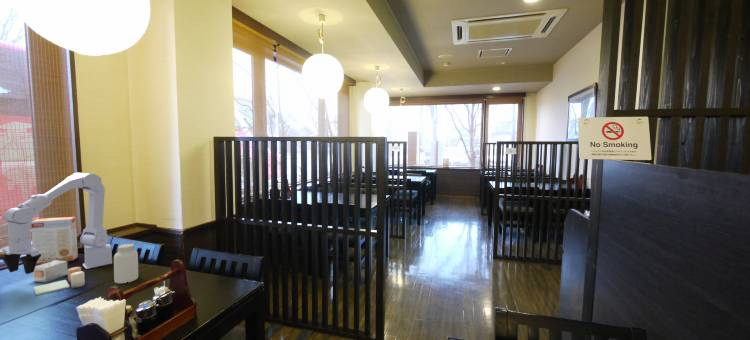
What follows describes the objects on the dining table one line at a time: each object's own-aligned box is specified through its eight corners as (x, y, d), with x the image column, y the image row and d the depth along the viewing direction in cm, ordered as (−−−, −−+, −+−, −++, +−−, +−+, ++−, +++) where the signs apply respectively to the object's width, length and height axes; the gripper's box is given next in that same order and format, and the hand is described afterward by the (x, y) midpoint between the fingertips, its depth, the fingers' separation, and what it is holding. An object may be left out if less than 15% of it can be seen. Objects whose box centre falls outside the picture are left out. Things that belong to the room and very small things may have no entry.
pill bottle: (142, 277, 133) (142, 244, 132) (122, 285, 126) (121, 249, 124) (130, 274, 136) (129, 241, 135) (109, 282, 128) (108, 247, 127)
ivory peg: (83, 282, 127) (83, 270, 127) (85, 285, 125) (85, 273, 125) (70, 285, 124) (69, 273, 124) (71, 288, 122) (71, 276, 121)
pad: (65, 281, 128) (65, 279, 128) (69, 287, 122) (69, 286, 122) (33, 288, 121) (33, 286, 121) (36, 295, 115) (36, 294, 115)
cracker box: (78, 257, 154) (76, 216, 152) (72, 261, 149) (70, 218, 147) (40, 260, 148) (37, 218, 146) (32, 265, 143) (30, 221, 141)
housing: (57, 273, 135) (56, 259, 135) (68, 274, 134) (68, 260, 134) (32, 281, 126) (31, 267, 126) (44, 283, 126) (43, 268, 125)
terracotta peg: (80, 277, 132) (80, 266, 131) (82, 280, 129) (81, 268, 129) (67, 280, 129) (66, 268, 128) (69, 283, 126) (68, 271, 126)
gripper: (-10, 239, 117) (-8, 274, 118) (22, 242, 115) (24, 278, 116) (14, 234, 124) (16, 267, 125) (44, 237, 121) (46, 270, 123)
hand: (21, 272), depth 121 cm, fingers open, 7 cm apart
